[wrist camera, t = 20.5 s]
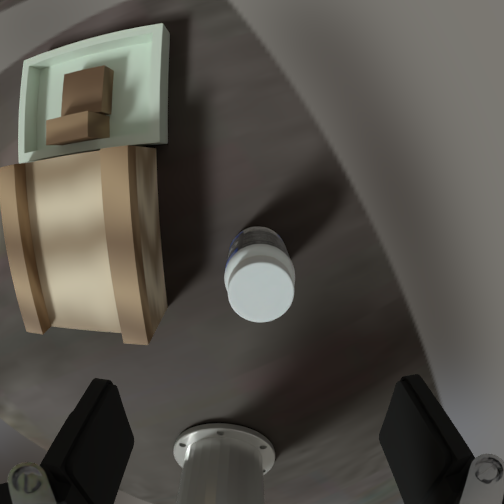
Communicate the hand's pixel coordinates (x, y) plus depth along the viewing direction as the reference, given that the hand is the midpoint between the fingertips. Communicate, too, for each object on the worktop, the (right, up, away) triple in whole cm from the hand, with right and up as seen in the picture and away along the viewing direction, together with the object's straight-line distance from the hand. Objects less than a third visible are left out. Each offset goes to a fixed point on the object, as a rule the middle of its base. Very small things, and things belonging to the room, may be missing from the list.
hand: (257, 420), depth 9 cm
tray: (-14, +19, +13) cm, 27 cm away
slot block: (-14, +7, +17) cm, 23 cm away
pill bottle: (0, +5, +18) cm, 19 cm away
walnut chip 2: (-14, +14, +12) cm, 23 cm away
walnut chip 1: (-14, +18, +11) cm, 25 cm away
